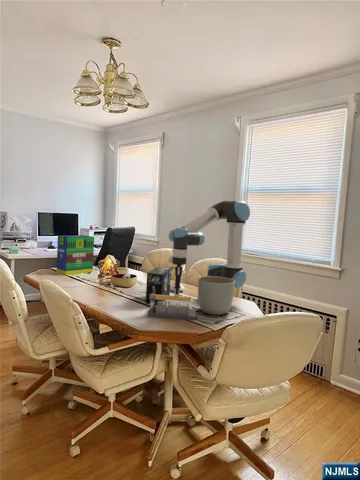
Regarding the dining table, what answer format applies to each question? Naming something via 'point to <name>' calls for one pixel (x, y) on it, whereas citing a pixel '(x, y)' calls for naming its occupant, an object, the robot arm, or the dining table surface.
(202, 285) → the planter
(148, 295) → the box
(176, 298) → the tan wooden bar
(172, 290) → the flower in vase
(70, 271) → the box
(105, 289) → the dining table surface
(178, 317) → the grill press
